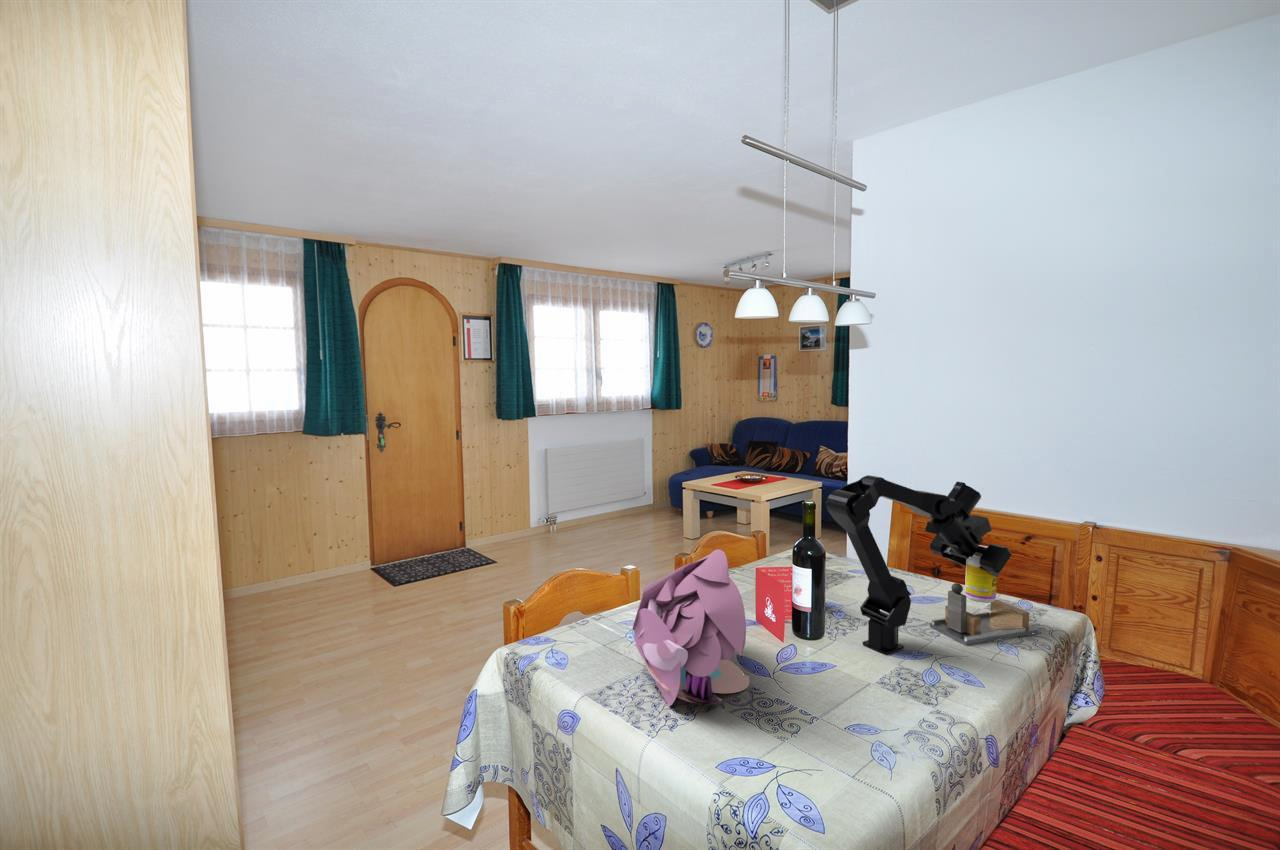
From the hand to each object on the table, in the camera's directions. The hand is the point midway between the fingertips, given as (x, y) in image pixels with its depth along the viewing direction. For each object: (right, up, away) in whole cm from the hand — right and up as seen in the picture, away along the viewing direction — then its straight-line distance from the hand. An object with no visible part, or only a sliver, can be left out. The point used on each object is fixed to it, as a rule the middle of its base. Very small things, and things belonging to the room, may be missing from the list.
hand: (985, 571), depth 145 cm
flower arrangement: (-73, -16, -23) cm, 78 cm away
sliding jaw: (-9, -12, -5) cm, 16 cm away
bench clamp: (-2, -14, -3) cm, 14 cm away
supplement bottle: (-1, -7, 0) cm, 7 cm away
